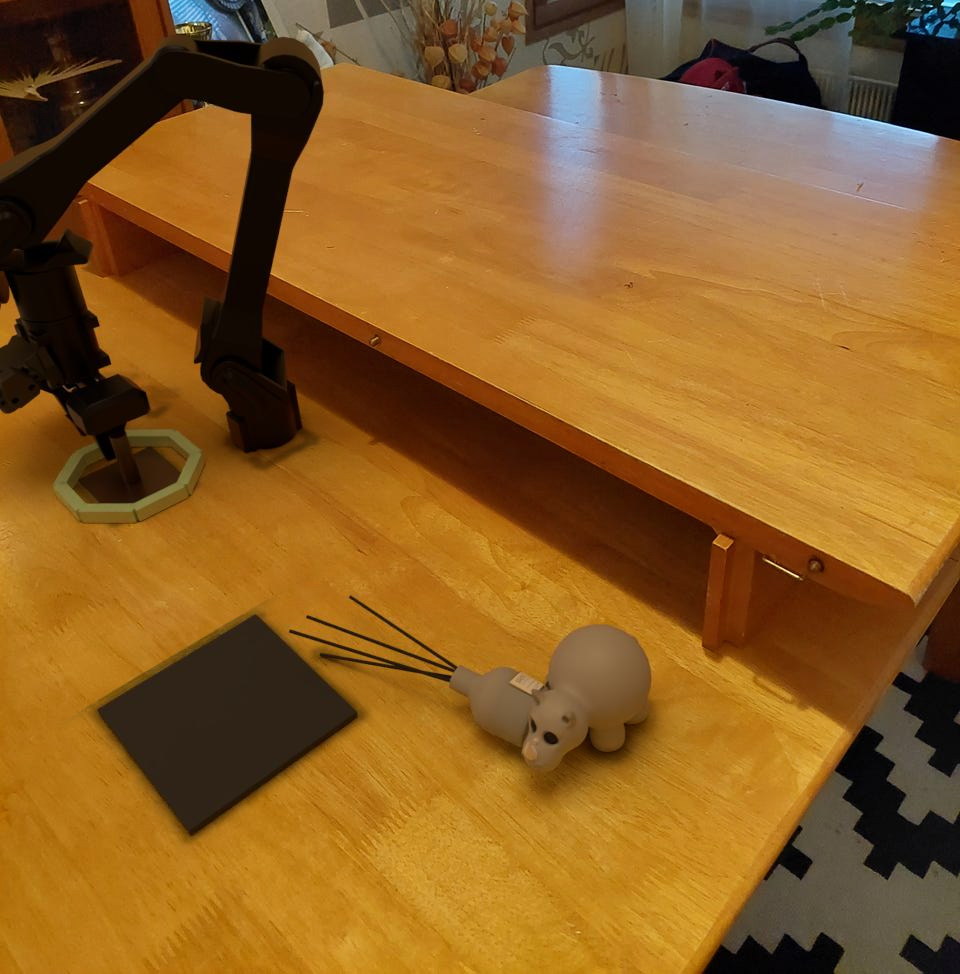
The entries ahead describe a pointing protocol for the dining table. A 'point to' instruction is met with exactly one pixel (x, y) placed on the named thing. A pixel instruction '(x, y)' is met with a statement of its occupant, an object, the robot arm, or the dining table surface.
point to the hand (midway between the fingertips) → (99, 446)
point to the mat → (225, 720)
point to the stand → (130, 473)
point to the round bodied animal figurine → (588, 695)
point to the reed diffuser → (463, 684)
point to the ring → (140, 508)
